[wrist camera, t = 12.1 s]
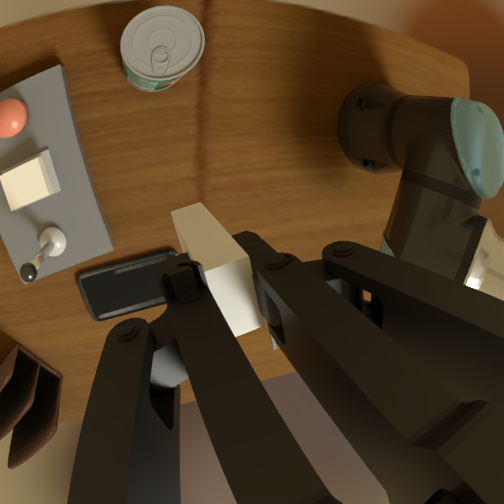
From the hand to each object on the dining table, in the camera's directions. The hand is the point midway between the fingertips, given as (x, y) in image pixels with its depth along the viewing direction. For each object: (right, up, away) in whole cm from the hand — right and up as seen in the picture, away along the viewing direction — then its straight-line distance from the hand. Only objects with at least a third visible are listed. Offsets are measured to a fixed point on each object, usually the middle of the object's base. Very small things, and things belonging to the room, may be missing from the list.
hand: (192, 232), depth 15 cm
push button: (-25, +15, +13) cm, 32 cm away
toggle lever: (-21, 0, +17) cm, 27 cm away
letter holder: (-39, -25, +26) cm, 53 cm away
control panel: (-24, +9, +17) cm, 31 cm away
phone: (-14, -5, +28) cm, 32 cm away
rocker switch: (-22, +7, +13) cm, 27 cm away
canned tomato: (-9, +22, +17) cm, 30 cm away
